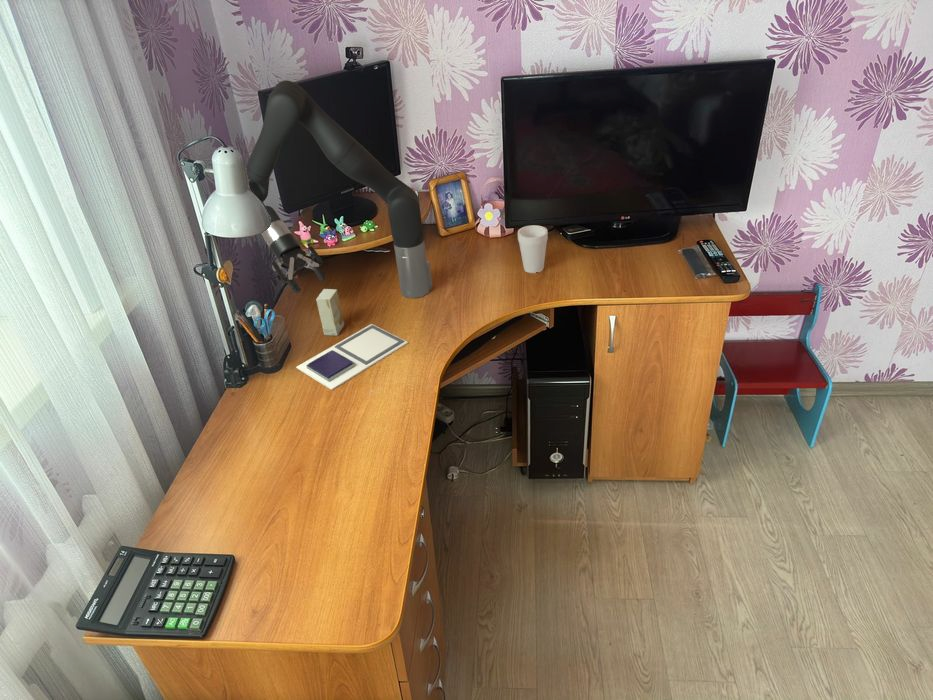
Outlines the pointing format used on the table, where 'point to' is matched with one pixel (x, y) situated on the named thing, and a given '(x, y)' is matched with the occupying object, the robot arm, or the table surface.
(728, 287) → the table surface
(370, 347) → the marked board
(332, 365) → the ink pad
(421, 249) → the robot arm
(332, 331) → the skincare box
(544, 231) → the foam cup
